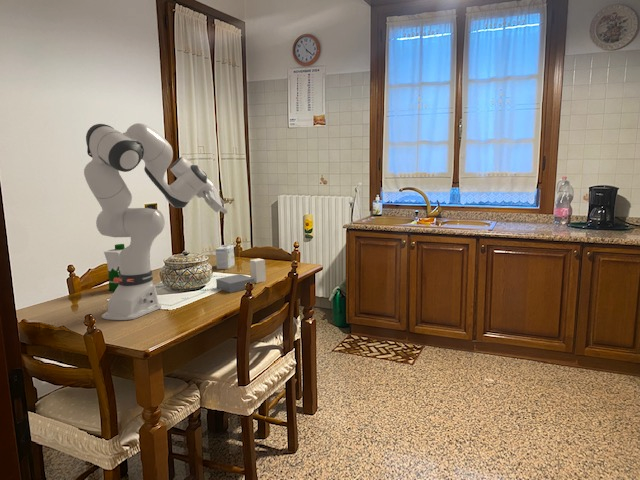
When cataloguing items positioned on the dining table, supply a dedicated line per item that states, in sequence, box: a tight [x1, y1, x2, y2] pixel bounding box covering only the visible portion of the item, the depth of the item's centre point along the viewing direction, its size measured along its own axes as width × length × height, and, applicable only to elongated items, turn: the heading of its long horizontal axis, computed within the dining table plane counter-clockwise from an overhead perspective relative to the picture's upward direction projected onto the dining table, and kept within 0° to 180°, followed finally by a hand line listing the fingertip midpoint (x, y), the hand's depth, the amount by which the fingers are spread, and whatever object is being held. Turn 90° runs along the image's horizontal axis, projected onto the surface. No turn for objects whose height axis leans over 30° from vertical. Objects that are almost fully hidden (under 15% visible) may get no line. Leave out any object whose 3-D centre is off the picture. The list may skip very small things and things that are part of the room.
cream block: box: [249, 258, 267, 284], centre depth 230 cm, size 5×5×10 cm
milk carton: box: [103, 243, 126, 292], centre depth 224 cm, size 9×9×20 cm
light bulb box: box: [215, 244, 236, 270], centre depth 263 cm, size 11×7×11 cm, turn 172°
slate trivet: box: [215, 273, 256, 294], centre depth 220 cm, size 12×12×4 cm
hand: (224, 208), depth 222 cm, fingers open, 8 cm apart
